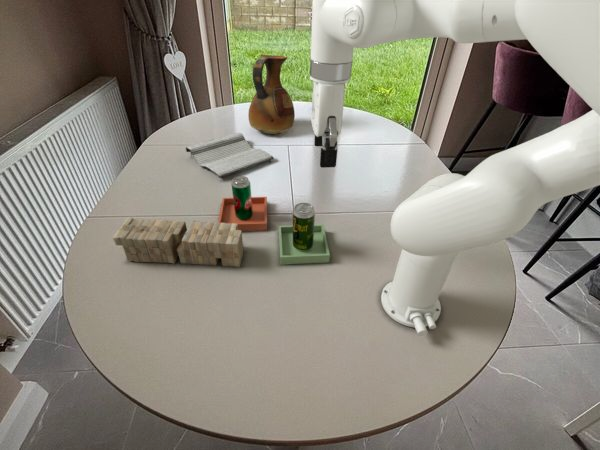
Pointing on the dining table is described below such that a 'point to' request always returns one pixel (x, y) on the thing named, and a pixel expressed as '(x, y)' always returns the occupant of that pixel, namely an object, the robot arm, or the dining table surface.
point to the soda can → (242, 197)
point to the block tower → (180, 242)
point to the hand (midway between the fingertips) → (324, 155)
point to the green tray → (293, 256)
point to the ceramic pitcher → (270, 98)
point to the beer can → (303, 226)
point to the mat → (227, 154)
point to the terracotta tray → (252, 224)
